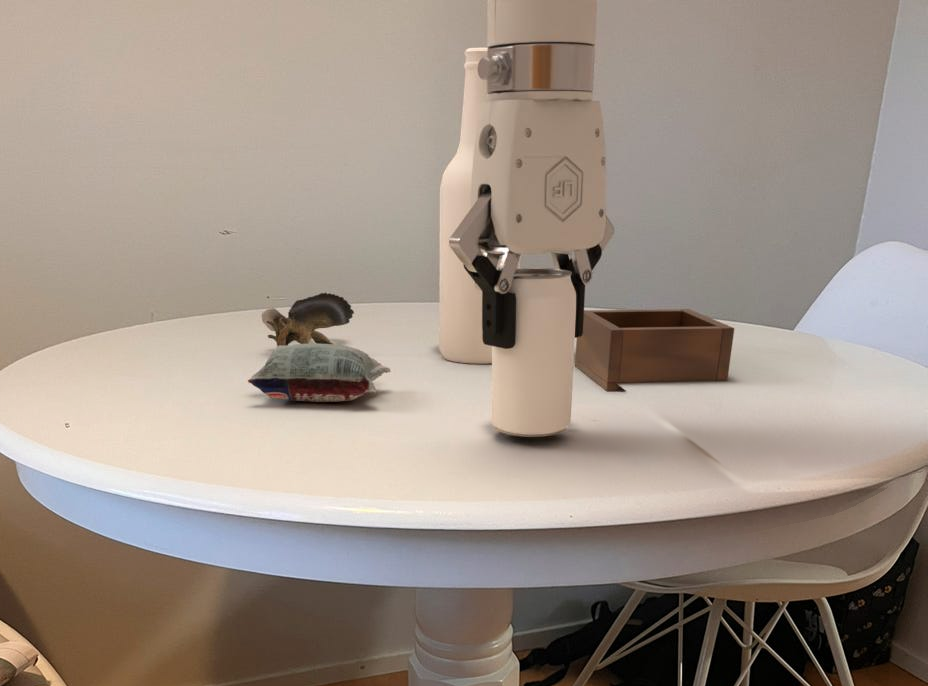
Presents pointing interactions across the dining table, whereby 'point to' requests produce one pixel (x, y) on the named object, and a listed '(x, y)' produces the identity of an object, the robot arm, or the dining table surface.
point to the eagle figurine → (308, 319)
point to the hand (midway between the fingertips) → (533, 338)
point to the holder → (652, 347)
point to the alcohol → (455, 284)
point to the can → (537, 357)
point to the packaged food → (317, 373)
